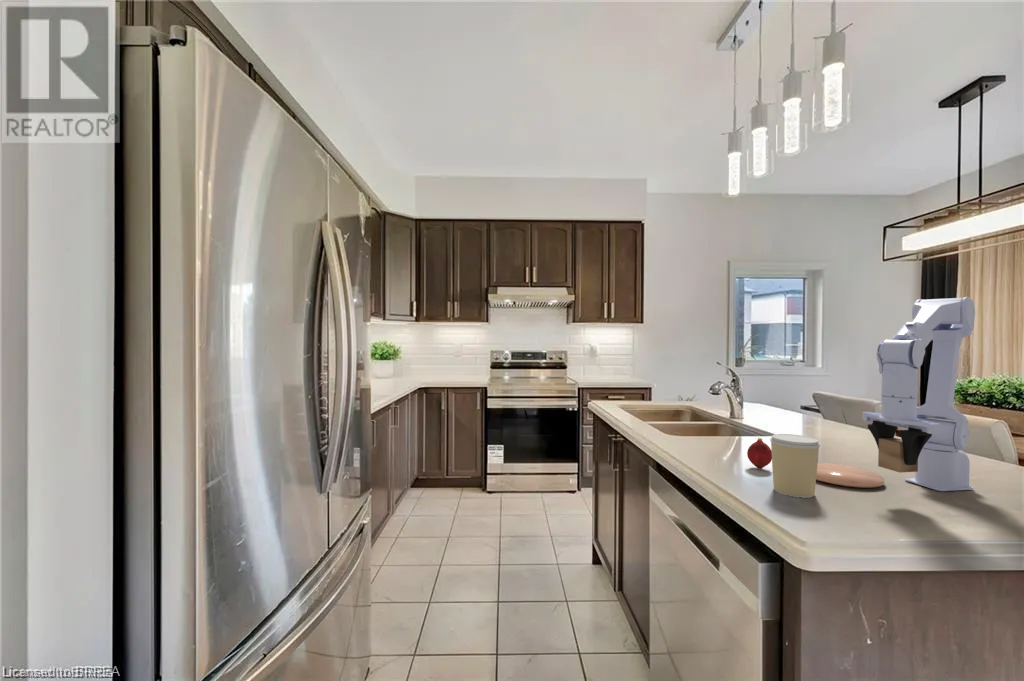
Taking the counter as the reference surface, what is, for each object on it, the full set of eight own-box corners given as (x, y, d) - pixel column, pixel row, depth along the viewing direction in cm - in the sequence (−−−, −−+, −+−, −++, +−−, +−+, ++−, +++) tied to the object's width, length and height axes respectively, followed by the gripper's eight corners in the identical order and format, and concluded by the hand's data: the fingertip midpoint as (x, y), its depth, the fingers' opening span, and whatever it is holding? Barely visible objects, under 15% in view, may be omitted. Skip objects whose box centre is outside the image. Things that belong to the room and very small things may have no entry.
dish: (838, 467, 121) (838, 461, 121) (903, 488, 104) (904, 481, 104) (782, 469, 118) (782, 463, 118) (840, 491, 101) (840, 485, 101)
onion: (775, 472, 115) (776, 441, 115) (751, 471, 116) (751, 440, 116) (767, 466, 121) (768, 436, 121) (744, 464, 122) (744, 435, 122)
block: (895, 465, 98) (896, 437, 98) (917, 471, 94) (918, 442, 93) (878, 466, 97) (878, 438, 97) (899, 472, 93) (900, 443, 93)
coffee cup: (814, 488, 103) (815, 436, 103) (823, 502, 95) (823, 444, 95) (767, 482, 107) (768, 432, 107) (771, 495, 99) (772, 440, 98)
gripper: (851, 392, 102) (850, 452, 102) (919, 401, 87) (918, 472, 88) (877, 392, 103) (876, 451, 103) (949, 401, 89) (948, 470, 89)
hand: (897, 461), depth 95 cm, fingers closed on block, 4 cm apart
